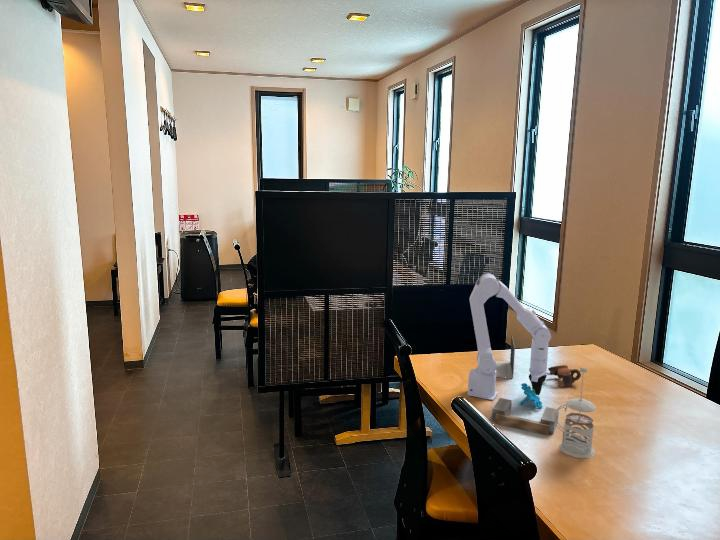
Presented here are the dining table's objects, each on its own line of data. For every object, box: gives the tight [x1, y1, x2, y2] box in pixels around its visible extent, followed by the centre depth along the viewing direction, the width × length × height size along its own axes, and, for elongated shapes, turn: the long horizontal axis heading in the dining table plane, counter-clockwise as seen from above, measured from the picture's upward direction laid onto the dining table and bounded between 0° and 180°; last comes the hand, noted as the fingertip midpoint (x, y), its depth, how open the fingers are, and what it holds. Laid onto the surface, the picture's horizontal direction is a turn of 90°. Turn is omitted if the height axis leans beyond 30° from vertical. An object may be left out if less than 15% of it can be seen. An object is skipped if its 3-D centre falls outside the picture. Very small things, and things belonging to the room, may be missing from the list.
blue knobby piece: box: [519, 382, 544, 409], centre depth 182 cm, size 11×6×10 cm
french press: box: [554, 366, 597, 459], centre depth 150 cm, size 10×12×25 cm
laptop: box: [495, 335, 516, 380], centre depth 215 cm, size 18×12×13 cm
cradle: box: [491, 397, 560, 436], centre depth 169 cm, size 19×12×4 cm, turn 62°
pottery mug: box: [547, 364, 582, 388], centre depth 202 cm, size 12×10×8 cm
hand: (536, 394), depth 187 cm, fingers closed
